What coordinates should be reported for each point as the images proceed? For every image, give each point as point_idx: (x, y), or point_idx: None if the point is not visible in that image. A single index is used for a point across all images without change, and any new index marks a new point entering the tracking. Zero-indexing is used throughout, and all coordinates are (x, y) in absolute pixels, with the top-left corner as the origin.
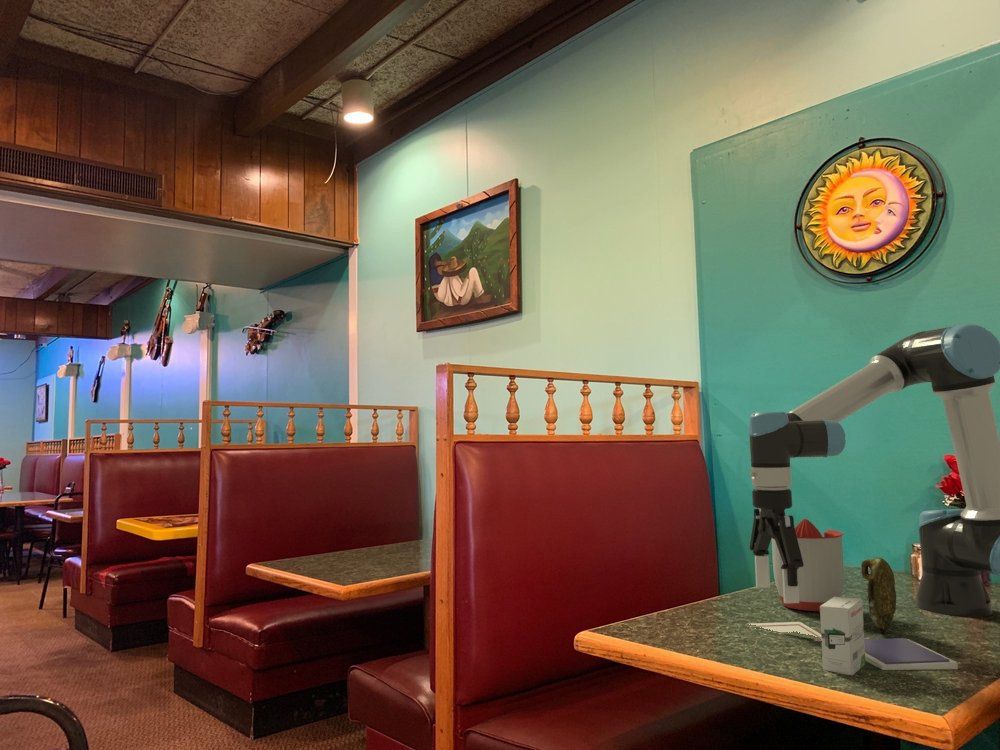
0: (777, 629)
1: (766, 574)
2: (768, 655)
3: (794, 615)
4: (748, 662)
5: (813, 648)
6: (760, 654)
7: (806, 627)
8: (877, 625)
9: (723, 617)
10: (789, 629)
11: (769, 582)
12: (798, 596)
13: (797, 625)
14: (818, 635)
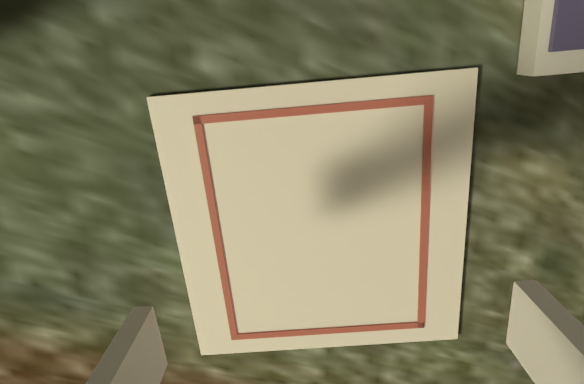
0: (264, 218)
1: (125, 379)
2: None
3: (13, 72)
4: None
5: (486, 168)
6: None
7: (237, 102)
8: None
9: (90, 332)
10: (265, 177)
11: (142, 327)
12: (558, 303)
13: (205, 127)
14: (354, 97)
